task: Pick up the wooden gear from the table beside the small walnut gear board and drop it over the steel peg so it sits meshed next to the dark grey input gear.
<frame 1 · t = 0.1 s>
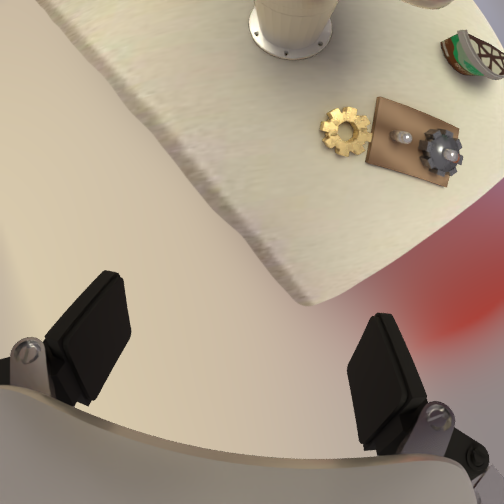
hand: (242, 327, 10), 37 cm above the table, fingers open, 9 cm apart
input gear: (436, 150, 37), resting on gear board
gear board: (413, 142, 38), on the table
food container: (460, 65, 30), on the table
wooden gear: (343, 130, 39), on the table
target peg: (394, 135, 37), resting on gear board
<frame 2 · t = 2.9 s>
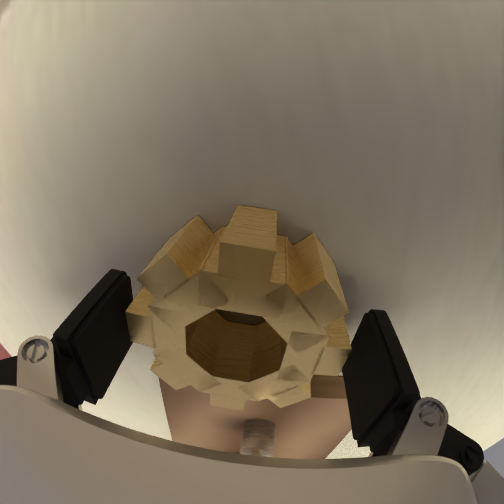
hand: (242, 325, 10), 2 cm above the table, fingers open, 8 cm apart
gear board: (252, 435, 17), on the table
wooden gear: (245, 294, 12), on the table
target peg: (259, 425, 14), resting on gear board
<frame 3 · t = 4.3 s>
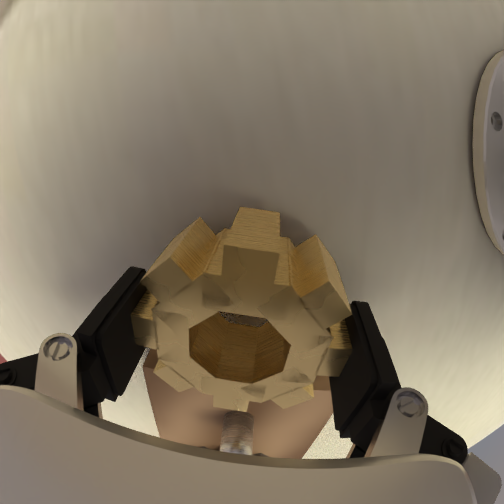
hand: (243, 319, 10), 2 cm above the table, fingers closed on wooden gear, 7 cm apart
gear board: (234, 430, 18), on the table
wooden gear: (247, 296, 12), point 1 cm above the table, touching gripper
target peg: (239, 417, 15), resting on gear board
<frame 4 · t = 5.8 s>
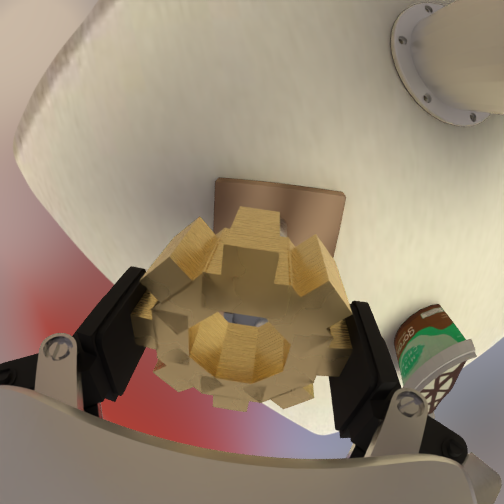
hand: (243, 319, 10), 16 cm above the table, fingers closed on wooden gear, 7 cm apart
input gear: (266, 305, 28), resting on gear board
gear board: (271, 263, 28), on the table
food container: (407, 333, 31), on the table
wooden gear: (247, 295, 12), point 15 cm above the table, touching gripper
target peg: (276, 226, 24), resting on gear board
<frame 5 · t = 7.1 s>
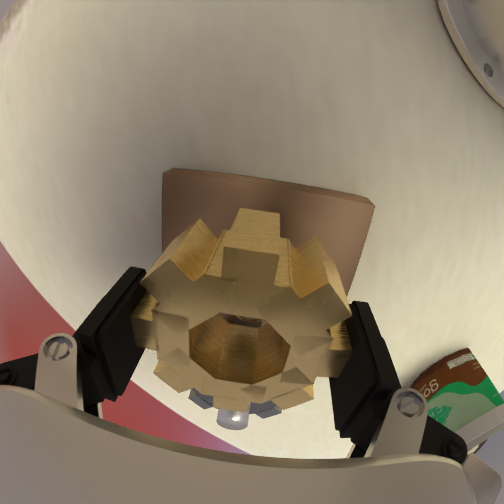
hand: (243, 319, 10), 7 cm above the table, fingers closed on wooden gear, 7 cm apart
input gear: (242, 357, 19), resting on gear board
gear board: (251, 300, 19), on the table
food container: (425, 382, 22), on the table
wooden gear: (247, 296, 12), point 6 cm above the table, touching gripper
when the fingers open (4 cm above the table, at t = 8.1 s): wooden gear drops 2 cm, resting on gear board.
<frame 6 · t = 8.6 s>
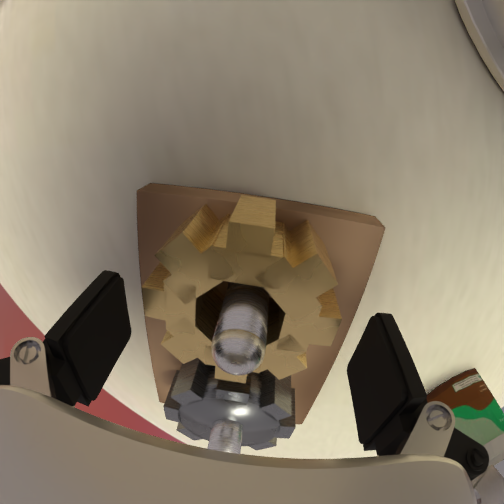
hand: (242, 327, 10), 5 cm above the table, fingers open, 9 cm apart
input gear: (234, 388, 17), resting on gear board
gear board: (243, 329, 16), on the table
food container: (429, 403, 20), on the table
wooden gear: (247, 275, 13), point 1 cm above the table, touching gear board
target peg: (250, 278, 13), resting on gear board
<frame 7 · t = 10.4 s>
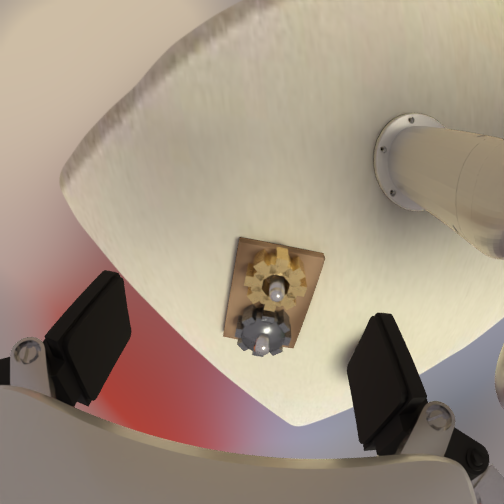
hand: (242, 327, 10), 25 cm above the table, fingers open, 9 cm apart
input gear: (263, 323, 40), resting on gear board
gear board: (269, 295, 40), on the table
wooden gear: (275, 273, 36), point 1 cm above the table, touching gear board
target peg: (276, 274, 36), resting on gear board
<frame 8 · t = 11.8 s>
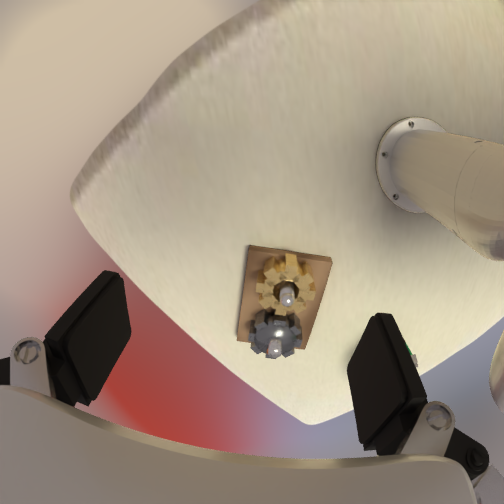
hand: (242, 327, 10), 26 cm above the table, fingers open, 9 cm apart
input gear: (275, 327, 41), resting on gear board
gear board: (280, 300, 41), on the table
wooden gear: (285, 278, 38), point 1 cm above the table, touching gear board
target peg: (286, 279, 38), resting on gear board
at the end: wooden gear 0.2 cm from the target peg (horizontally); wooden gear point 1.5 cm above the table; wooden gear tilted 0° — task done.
